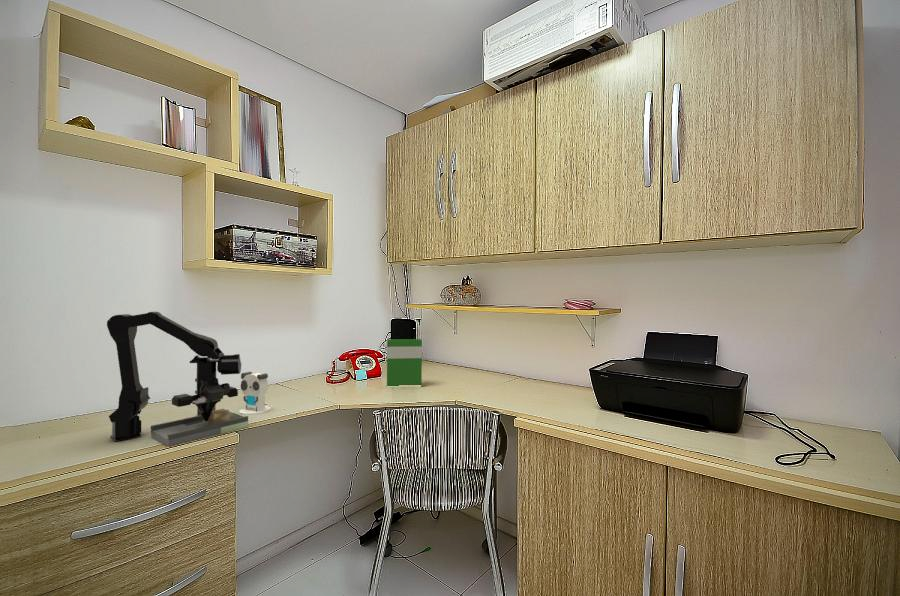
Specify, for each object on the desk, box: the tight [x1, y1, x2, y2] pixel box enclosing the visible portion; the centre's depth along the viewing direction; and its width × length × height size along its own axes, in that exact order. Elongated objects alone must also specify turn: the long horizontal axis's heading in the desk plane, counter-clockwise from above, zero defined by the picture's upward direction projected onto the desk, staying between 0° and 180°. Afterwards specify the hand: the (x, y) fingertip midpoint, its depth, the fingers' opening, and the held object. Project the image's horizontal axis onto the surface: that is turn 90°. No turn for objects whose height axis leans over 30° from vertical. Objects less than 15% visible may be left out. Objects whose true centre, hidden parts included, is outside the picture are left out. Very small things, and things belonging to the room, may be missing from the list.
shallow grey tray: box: [150, 409, 249, 448], centre depth 134 cm, size 24×15×4 cm, turn 144°
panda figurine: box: [238, 371, 271, 415], centre depth 160 cm, size 12×11×15 cm
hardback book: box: [386, 338, 423, 387], centre depth 206 cm, size 18×7×24 cm, turn 98°
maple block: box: [208, 408, 230, 424], centre depth 138 cm, size 5×5×4 cm
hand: (206, 421), depth 135 cm, fingers closed
